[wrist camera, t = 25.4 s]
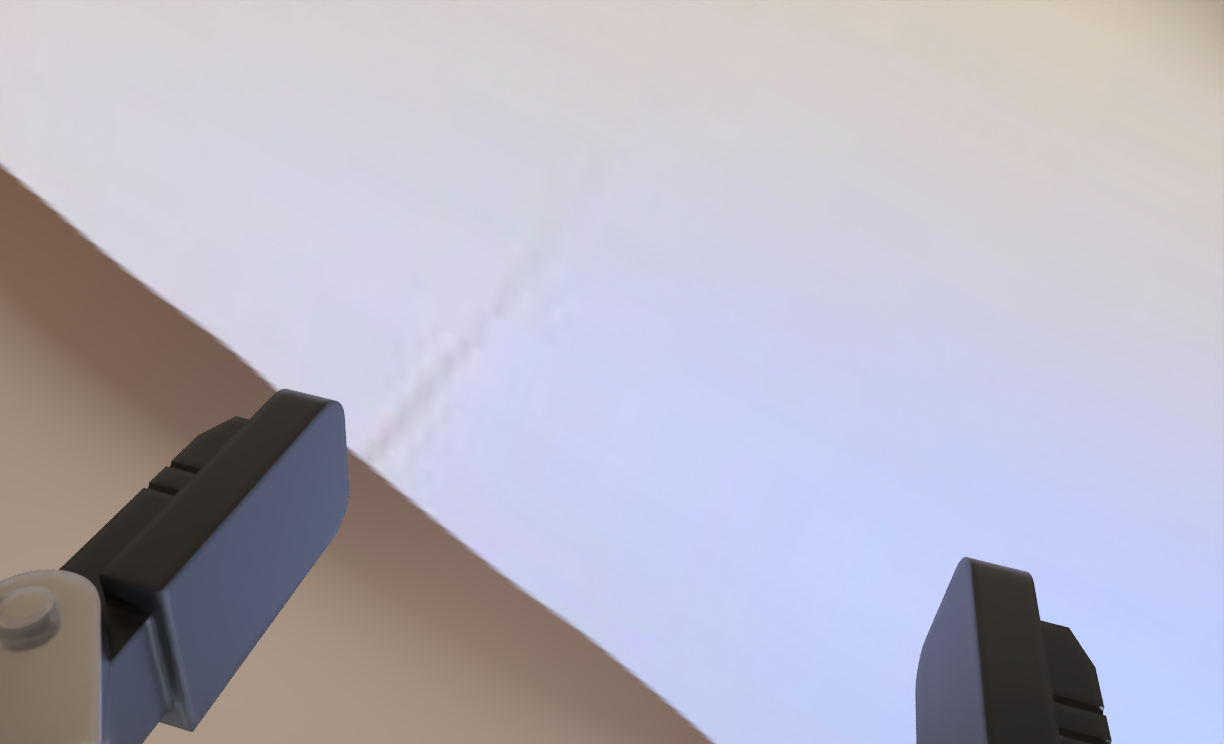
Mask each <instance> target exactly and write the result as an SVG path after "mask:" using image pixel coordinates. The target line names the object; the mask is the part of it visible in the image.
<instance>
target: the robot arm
mask: <svg viewBox="0 0 1224 744" xmlns="http://www.w3.org/2000/svg"><path fill="white" fill-rule="evenodd" d="M348 498H349V479H348V464H347V447H346V431H345V416H344V410H343V407H342V405H341V404H340V403H339V402H337V401H334V400H330V399H326V398H322V397H318V396H314V395H310V394H306V393H302V392H297V391H293V390H289V389H282V390H280V391H278V392H276V393H275V394H274V395H273V396H272V397H271V398H270V399H269V400H268V401H267V402H266V403H265V404H264V405H263V406H262V407H261V408H260V409H259V410H258V411H257V412H256V413H255V414H254V415H253V417H251V418H250V419H245V418H241V417H237V416H236V417H234V418H231V419H230V420H227V421H226V422H224V423H222V424H220V425H218V426H216V427H214V428H212V429H210V430H208V431H206V432H204V433H202V434H200V435H198V436H197V437H196V438H195V439H194V440H193V441H192V442H191V443H190V444H189V445H188V446H187V447H186V448H185V449H183V450H182V451H181V452H180V453H179V454H178V455H177V456H176V457H175V458H174V459H173V460H172V462H171V466H170V467H165V468H164V469H163V470H162V471H161V472H160V473H159V474H158V475H157V476H156V477H155V478H154V479H152V480H151V481H150V483H149V487H148V488H147V489H145V488H143V489H142V490H141V491H140V492H139V493H138V494H137V495H136V496H135V497H134V498H133V499H132V500H131V501H130V502H129V503H128V504H127V505H126V506H125V507H124V508H122V509H121V510H120V511H119V513H117V514H116V515H115V516H114V517H113V518H112V519H111V520H110V521H109V522H108V523H107V524H106V525H105V526H104V527H103V528H102V529H101V530H100V531H99V532H98V533H97V534H96V535H95V536H94V537H93V538H91V539H90V540H89V541H88V542H87V543H86V544H85V545H84V546H83V547H82V548H81V549H80V550H79V551H78V552H77V553H76V554H75V555H74V556H73V557H72V558H71V559H70V560H69V561H68V562H67V563H66V564H65V565H64V566H62V567H61V568H60V569H59V570H39V571H31V572H26V573H22V574H18V575H15V576H12V577H9V578H7V579H4V580H2V581H0V744H142V743H143V742H144V740H145V739H146V738H147V736H148V735H149V734H150V733H151V732H152V730H153V729H154V728H155V726H156V725H157V724H158V722H161V723H164V724H168V725H171V726H174V727H177V728H181V729H184V730H187V731H191V732H193V731H194V729H195V728H196V727H197V725H198V723H200V721H201V720H202V718H203V717H204V715H205V714H206V713H207V711H208V710H209V709H210V707H211V706H212V704H213V703H214V702H215V700H216V699H217V698H218V696H219V695H220V693H221V692H222V691H223V689H224V688H225V687H226V685H227V684H228V682H229V681H230V680H231V678H232V677H233V676H234V674H235V673H236V671H237V670H238V669H239V667H240V666H241V664H242V663H243V662H244V660H245V659H246V658H247V656H248V655H249V653H250V652H251V651H252V649H253V648H254V647H255V645H256V644H257V642H258V641H259V640H260V638H261V637H262V636H263V634H264V633H265V631H266V630H267V628H268V627H269V626H270V624H271V623H272V622H273V620H274V619H275V618H276V616H277V615H278V613H279V612H280V611H281V609H282V608H283V606H284V605H285V604H286V602H287V601H288V600H289V598H290V597H291V595H292V594H293V593H294V591H295V590H296V588H297V587H298V586H299V584H300V583H301V582H302V580H303V579H304V578H305V576H306V574H307V573H308V572H309V571H310V569H311V568H312V566H313V565H314V564H315V562H316V561H317V559H318V558H319V557H320V555H321V554H322V553H323V551H324V550H325V548H326V547H327V546H328V544H329V543H330V542H331V540H332V539H333V537H334V536H335V534H336V533H337V531H338V529H339V527H340V525H341V523H342V520H343V518H344V515H345V512H346V508H347V503H348ZM1103 709H1104V705H1103V700H1102V696H1101V691H1100V686H1099V682H1098V677H1097V673H1096V668H1095V666H1094V665H1093V663H1092V662H1091V660H1090V659H1089V657H1088V656H1087V654H1086V653H1085V651H1084V650H1083V648H1082V647H1081V645H1080V644H1079V642H1078V641H1077V639H1076V638H1075V636H1074V635H1073V633H1072V632H1071V630H1070V629H1069V628H1068V627H1064V626H1060V625H1056V624H1052V623H1048V622H1044V621H1040V616H1039V610H1038V604H1037V598H1036V593H1035V587H1034V582H1033V578H1032V576H1031V575H1030V573H1028V572H1025V571H1021V570H1017V569H1013V568H1009V567H1005V566H1000V565H996V564H992V563H988V562H984V561H980V560H976V559H972V558H968V557H964V558H963V559H962V560H961V561H960V562H959V564H958V566H957V568H956V570H955V572H954V574H953V577H952V579H951V581H950V584H949V586H948V588H947V591H946V593H945V595H944V598H943V600H942V602H941V605H940V607H939V609H938V611H937V614H936V616H935V618H934V621H933V623H932V625H931V628H930V630H929V632H928V635H927V637H926V639H925V642H924V645H923V648H922V652H921V655H920V660H919V665H918V670H917V678H916V737H917V744H1111V736H1110V732H1109V727H1108V723H1107V718H1106V716H1105V715H1103Z"/></svg>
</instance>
